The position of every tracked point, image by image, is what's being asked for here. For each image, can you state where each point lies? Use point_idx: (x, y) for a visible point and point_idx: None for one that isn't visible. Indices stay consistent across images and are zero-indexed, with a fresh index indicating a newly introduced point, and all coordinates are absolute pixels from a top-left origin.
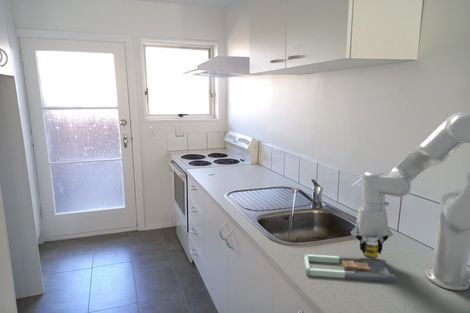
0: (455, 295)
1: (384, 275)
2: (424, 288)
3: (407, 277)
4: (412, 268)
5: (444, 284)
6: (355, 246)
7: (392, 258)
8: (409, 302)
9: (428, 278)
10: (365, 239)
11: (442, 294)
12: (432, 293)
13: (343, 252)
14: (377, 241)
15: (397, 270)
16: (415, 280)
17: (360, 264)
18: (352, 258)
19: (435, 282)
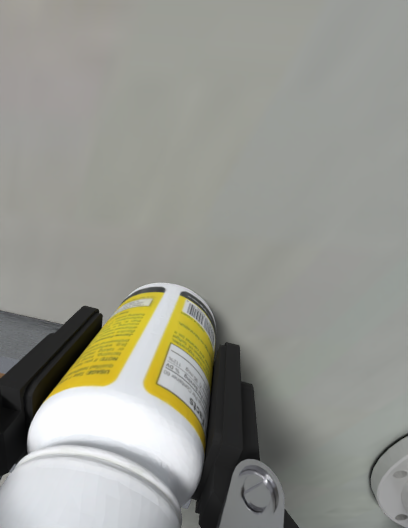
0: (380, 522)
1: None
2: (299, 488)
3: (288, 436)
4: (386, 390)
5: (393, 517)
6: (160, 47)
7: (360, 288)
8: (187, 516)
9: (377, 465)
10: (36, 435)
11: (337, 513)
12: (304, 506)
13: (17, 164)
14: (182, 505)
15: (283, 392)
16: (307, 454)
17: None
18: (4, 369)
19: (374, 493)
